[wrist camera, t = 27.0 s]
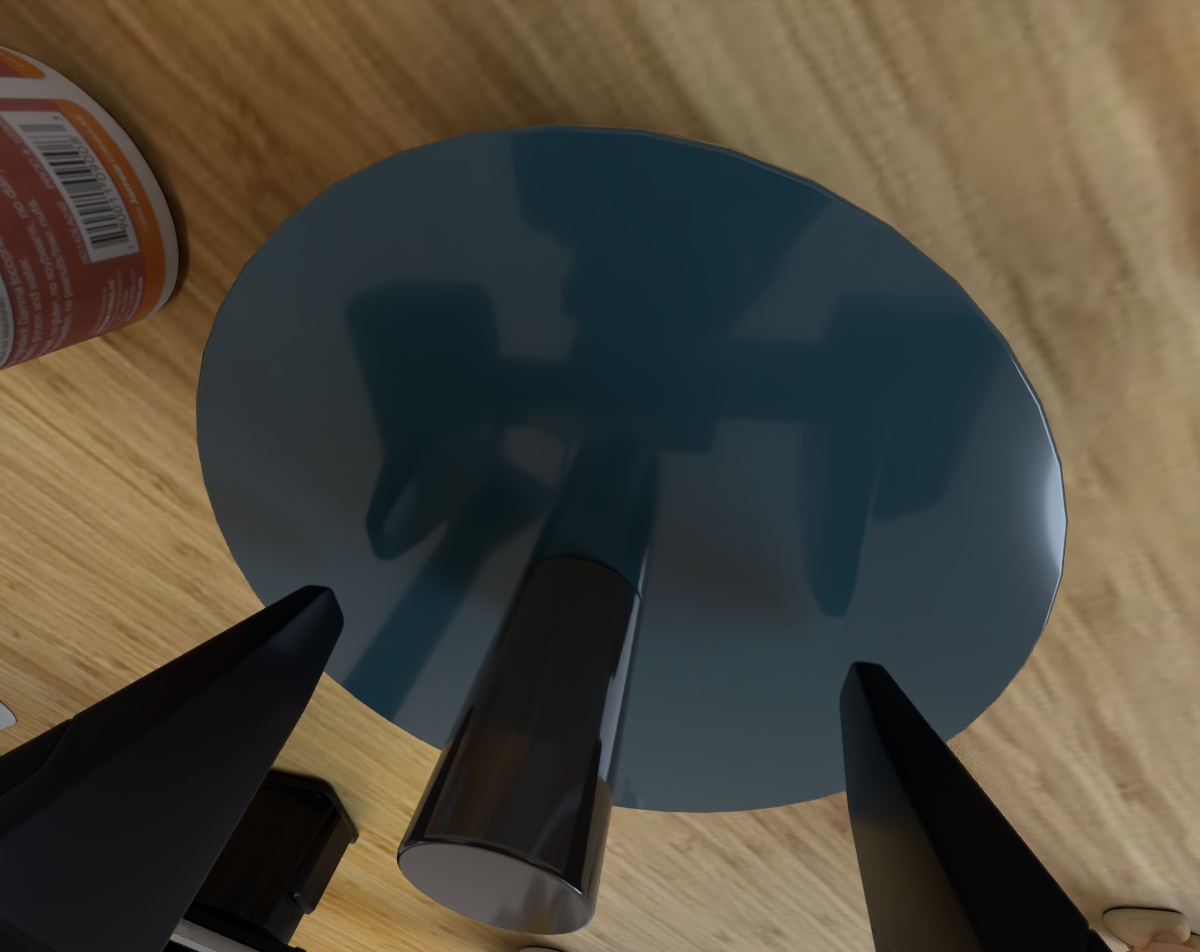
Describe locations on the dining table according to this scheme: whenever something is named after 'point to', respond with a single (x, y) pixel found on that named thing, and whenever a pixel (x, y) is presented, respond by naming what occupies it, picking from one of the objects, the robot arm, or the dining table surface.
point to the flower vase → (537, 949)
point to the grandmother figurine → (1152, 930)
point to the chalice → (6, 717)
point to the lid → (622, 484)
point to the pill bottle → (73, 218)
